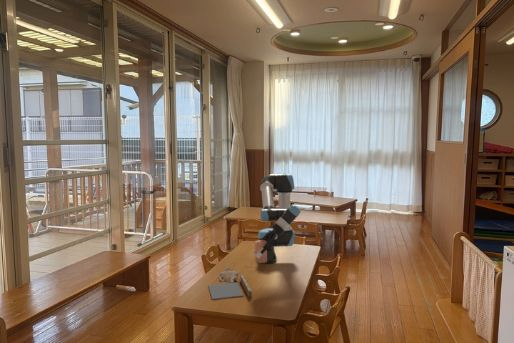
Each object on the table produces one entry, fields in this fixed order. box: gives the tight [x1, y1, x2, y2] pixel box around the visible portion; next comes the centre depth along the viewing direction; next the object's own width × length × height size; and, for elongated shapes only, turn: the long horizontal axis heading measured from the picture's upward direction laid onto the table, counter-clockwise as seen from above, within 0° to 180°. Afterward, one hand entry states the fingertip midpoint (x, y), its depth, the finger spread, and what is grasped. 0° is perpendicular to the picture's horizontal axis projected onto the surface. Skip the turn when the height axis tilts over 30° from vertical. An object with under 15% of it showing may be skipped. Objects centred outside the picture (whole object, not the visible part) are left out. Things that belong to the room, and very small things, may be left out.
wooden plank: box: [239, 274, 253, 299], centre depth 222 cm, size 26×2×4 cm, turn 13°
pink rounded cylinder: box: [254, 239, 267, 264], centre depth 222 cm, size 7×7×12 cm
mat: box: [208, 281, 244, 301], centre depth 219 cm, size 20×18×1 cm
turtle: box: [218, 266, 242, 283], centre depth 237 cm, size 16×10×10 cm, turn 80°
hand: (255, 255), depth 221 cm, fingers closed on pink rounded cylinder, 7 cm apart
